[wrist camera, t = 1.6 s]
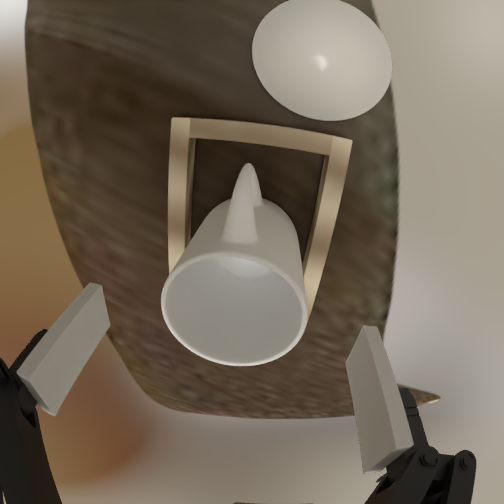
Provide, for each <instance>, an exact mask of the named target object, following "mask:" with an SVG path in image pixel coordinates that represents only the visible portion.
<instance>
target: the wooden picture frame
mask: <svg viewBox="0 0 504 504" xmlns="http://www.w3.org/2000/svg"><path fill="white" fill-rule="evenodd" d="M196 138H203V139H216V140H227V141H237V142H246V143H255V144H263V145H270V146H277V147H284V148H290V149H297V150H303V151H308V152H314V153H319V154H325V157H324V163H323V168H322V174H321V179H320V184H319V190H318V195H317V200H316V205H315V210H314V214H313V219H312V224H311V229H310V233H309V238H308V242H307V247H306V251H305V256H304V260H303V264H302V270H303V278H304V286H305V294H306V302H307V314H308V318H307V322H308V319H309V316H310V313H311V310H312V306H313V303H314V300H315V296H316V293H317V289H318V286H319V282H320V279H321V275H322V272H323V268H324V265H325V261H326V257H327V253H328V249H329V246H330V242H331V238H332V234H333V230H334V226H335V222H336V217H337V213H338V209H339V204H340V200H341V196H342V191H343V186H344V182H345V177H346V172H347V167H348V162H349V157H350V152H351V146H352V141H353V140H350V139H347V138H344V137H339V136H334V135H330V134H325V133H320V132H314V131H309V130H303V129H297V128H291V127H285V126H278V125H271V124H263V123H255V122H246V121H236V120H224V119H210V118H191V117H175V118H172V121H171V135H170V153H169V178H168V253H169V275H170V273H171V272H172V270H173V268H174V267H175V265H176V263H177V262H178V260H179V259H180V257H181V255H182V254H183V252H184V250H185V249H186V247H187V246H188V244H189V243H190V241H191V214H192V190H193V172H194V156H195V143H196Z"/></svg>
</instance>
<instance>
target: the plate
mask: <svg viewBox="0 0 504 504" xmlns="http://www.w3.org/2000/svg"><path fill="white" fill-rule="evenodd" d="M252 58H253V63H254V67H255V70H256V73H257V75H258V78H259V79H260V81H261V83H262V85H263V86H264V87H265V89H266V90H267V92H268V93H269V94H270V95H271V96H272V97H273V98H274V99H275V100H276V101H278V102H279V103H280V104H281V105H283V106H284V107H286V108H287V109H289V110H291V111H293V112H295V113H297V114H299V115H302V116H304V117H308V118H312V119H316V120H324V121H338V120H346V119H350V118H353V117H356V116H359V115H361V114H363V113H365V112H367V111H368V110H370V109H371V108H372V107H374V106H375V105H376V104H377V103H378V102H379V101H380V99H381V98H382V97H383V95H384V94H385V92H386V90H387V88H388V86H389V83H390V80H391V75H392V58H391V53H390V49H389V46H388V44H387V42H386V39H385V37H384V36H383V34H382V32H381V31H380V29H379V28H378V27H377V26H376V24H375V23H374V22H373V21H372V20H371V19H370V18H369V17H368V16H366V15H365V14H364V13H363V12H361V11H360V10H358V9H357V8H355V7H353V6H351V5H349V4H347V3H345V2H342V1H340V0H289V1H287V2H284V3H282V4H280V5H279V6H277V7H276V8H274V9H273V10H271V11H270V12H269V13H268V14H267V15H266V16H265V17H264V19H263V20H262V21H261V22H260V24H259V26H258V28H257V30H256V32H255V35H254V39H253V43H252Z"/></svg>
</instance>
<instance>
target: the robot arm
mask: <svg viewBox="0 0 504 504" xmlns="http://www.w3.org/2000/svg"><path fill="white" fill-rule="evenodd" d="M109 327H110V321H109V317H108V313H107V309H106V304H105V299H104V295H103V290H102V285H99V284H94V283H89V284H88V285H87V286H86V287H85V288H84V290H83V291H82V292H81V293H80V294H79V295H78V296H77V297H76V298H75V300H74V301H73V302H72V303H71V304H70V305H69V307H68V308H67V309H66V310H65V311H64V312H63V313H62V315H61V316H60V317H59V318H58V319H57V321H56V322H55V323H54V324H53V325H52V326H51V328H50V329H49V330H46V329H43V330H42V331H40V332H38V333H37V334H36V335H35V336H34V337H33V339H32V340H31V341H30V343H28V345H27V346H26V348H25V349H24V350H23V351H22V352H21V354H20V355H19V356H18V357H17V359H16V360H15V362H14V363H13V364H12V365H11V367H10V368H9V369H8V367H7V366H6V364H5V363H4V361H3V360H2V359H1V358H0V504H4V503H3V493H4V497H5V500H6V504H62V502H61V499H60V496H59V494H58V491H57V488H56V485H55V482H54V479H53V476H52V473H51V470H50V466H49V463H48V459H47V455H46V451H45V448H44V444H43V439H42V435H41V430H40V425H39V419H38V413H37V410H36V408H35V406H36V405H37V403H38V404H39V406H40V407H41V408H42V410H44V411H46V412H47V413H49V414H51V415H53V416H55V415H56V414H57V412H58V410H59V408H60V406H61V405H62V403H63V401H64V399H65V397H66V396H67V394H68V392H69V391H70V389H71V387H72V385H73V384H74V382H75V380H76V379H77V377H78V375H79V374H80V372H81V370H82V369H83V367H84V366H85V364H86V362H87V361H88V359H89V357H90V356H91V354H92V353H93V351H94V350H95V348H96V347H97V345H98V343H99V342H100V340H101V339H102V337H103V335H104V334H105V333H106V331H107V330H108V328H109ZM346 368H347V373H348V379H349V384H350V389H351V395H352V400H353V406H354V412H355V418H356V424H357V431H358V438H359V444H360V451H361V459H362V468H363V474H366V473H375V472H380V471H381V470H383V469H384V468H385V467H386V469H387V473H386V474H384V475H383V476H381V477H380V478H379V479H378V480H377V481H376V482H379V481H380V483H379V484H378V486H377V487H376V488H375V490H374V492H373V493H372V494H371V495H370V497H369V498H368V500H367V501H366V502H365V504H471V499H472V493H473V486H474V480H475V472H476V458H475V456H474V454H473V453H472V452H470V451H468V450H463V451H460V452H459V453H457V454H456V455H455V456H454V455H444V454H439V453H438V451H437V450H436V449H435V448H433V447H430V446H429V445H428V442H427V439H426V435H425V432H424V428H423V425H422V421H421V418H420V416H419V411H418V409H417V405H416V402H415V399H414V396H413V395H412V394H411V393H410V391H409V390H408V389H407V388H402V389H398V386H397V383H396V380H395V377H394V374H393V371H392V368H391V365H390V362H389V359H388V356H387V353H386V350H385V348H384V345H383V342H382V339H381V336H380V334H379V331H378V328H377V326H363V327H362V329H361V331H360V333H359V336H358V338H357V340H356V342H355V344H354V346H353V348H352V350H351V353H350V355H349V357H348V359H347V361H346Z"/></svg>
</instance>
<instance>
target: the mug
mask: <svg viewBox="0 0 504 504" xmlns="http://www.w3.org/2000/svg"><path fill="white" fill-rule="evenodd" d="M161 308H162V313H163V317H164V319H165V322H166V324H167V326H168V328H169V329H170V331H171V332H172V334H173V335H174V336H175V337H176V338H177V340H178V341H179V342H180V343H182V344H183V345H184V346H185V347H186V348H188V349H189V350H191V351H192V352H194V353H195V354H197V355H199V356H201V357H203V358H205V359H208V360H211V361H213V362H217V363H221V364H225V365H232V366H252V365H258V364H263V363H267V362H270V361H272V360H275V359H277V358H279V357H281V356H283V355H284V354H286V353H287V352H288V351H290V350H291V349H292V348H293V347H294V346H295V345H296V344H297V342H298V341H299V340H300V338H301V336H302V335H303V333H304V330H305V328H306V324H307V318H308V314H307V302H306V294H305V286H304V278H303V270H302V263H301V255H300V248H299V241H298V237H297V232H296V229H295V227H294V224H293V223H292V221H291V219H290V218H289V216H288V215H287V214H286V213H285V212H284V211H283V210H282V209H281V208H280V207H279V206H277V205H276V204H274V203H273V202H271V201H268V200H266V199H263V198H262V196H261V191H260V186H259V182H258V178H257V174H256V172H255V169H254V167H253V166H252V165H251V164H250V163H246V164H245V165H244V166H243V168H242V170H241V172H240V174H239V176H238V179H237V182H236V185H235V188H234V191H233V195H232V198H231V199H229V200H226V201H224V202H222V203H221V204H219V205H218V206H216V207H215V208H214V209H213V210H212V211H211V212H210V213H209V214H208V215H207V217H206V218H205V219H204V221H203V222H202V224H201V225H200V227H199V228H198V230H197V232H196V233H195V235H194V236H193V238H192V239H191V241H190V243H189V244H188V246H187V247H186V249H185V250H184V252H183V254H182V255H181V257H180V259H179V260H178V262H177V263H176V265H175V267H174V268H173V270H172V272H171V273H170V275H169V277H168V278H167V280H166V282H165V284H164V287H163V290H162V295H161Z"/></svg>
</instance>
